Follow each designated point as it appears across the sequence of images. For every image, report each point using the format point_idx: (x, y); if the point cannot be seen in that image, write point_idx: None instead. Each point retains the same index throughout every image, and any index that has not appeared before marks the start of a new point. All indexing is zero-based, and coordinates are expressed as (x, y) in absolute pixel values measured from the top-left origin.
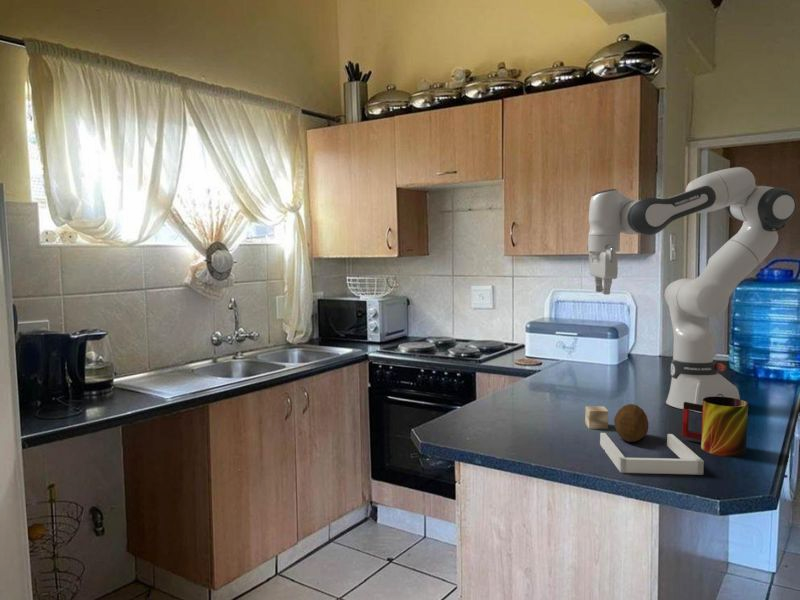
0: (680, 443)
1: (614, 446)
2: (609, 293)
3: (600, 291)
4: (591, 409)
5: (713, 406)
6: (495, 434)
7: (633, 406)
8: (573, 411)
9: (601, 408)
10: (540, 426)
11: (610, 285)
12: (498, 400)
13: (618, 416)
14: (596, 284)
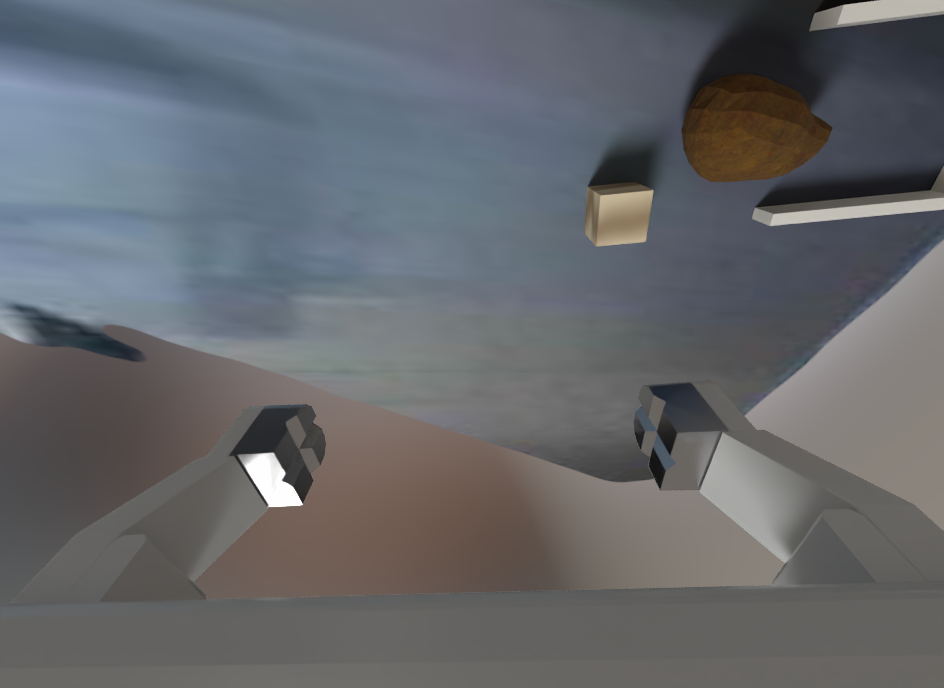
0: (938, 3)
1: (879, 207)
2: (710, 386)
3: (312, 420)
4: (630, 234)
5: None
6: None
7: (792, 132)
8: (477, 250)
9: (622, 205)
10: (606, 326)
11: (822, 468)
12: (412, 394)
13: (756, 177)
14: (247, 523)
